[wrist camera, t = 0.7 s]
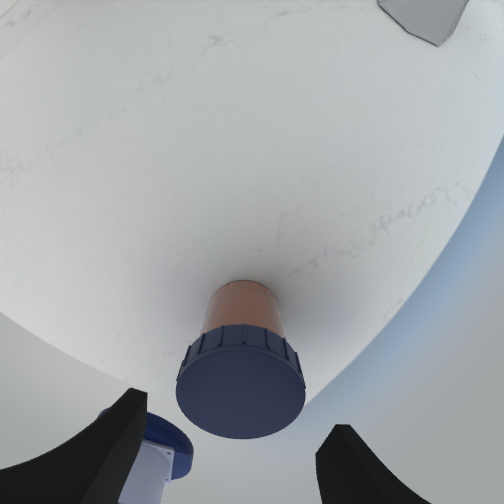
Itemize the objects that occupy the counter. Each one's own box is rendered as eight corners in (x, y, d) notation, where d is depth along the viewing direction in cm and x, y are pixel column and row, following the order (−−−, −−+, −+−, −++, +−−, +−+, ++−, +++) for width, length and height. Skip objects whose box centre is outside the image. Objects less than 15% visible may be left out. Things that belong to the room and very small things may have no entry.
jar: (268, 348, 19) (277, 434, 12) (202, 334, 19) (180, 417, 11) (288, 289, 18) (311, 362, 10) (216, 272, 18) (193, 339, 10)
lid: (280, 417, 13) (283, 445, 11) (177, 397, 13) (169, 426, 11) (316, 335, 12) (327, 362, 10) (192, 309, 12) (181, 334, 10)
